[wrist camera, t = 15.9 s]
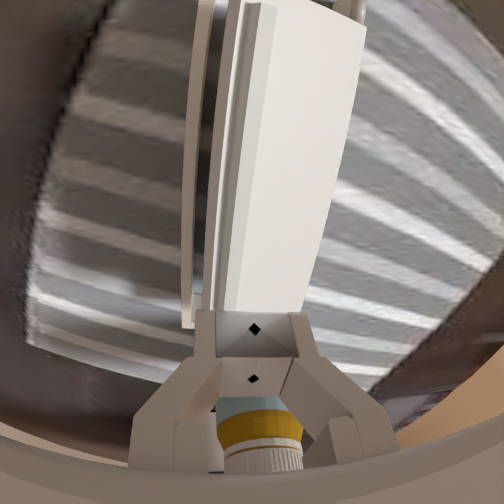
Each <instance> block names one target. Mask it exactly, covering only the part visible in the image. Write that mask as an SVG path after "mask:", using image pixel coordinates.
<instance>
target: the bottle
mask: <svg viewBox="0 0 504 504" xmlns="http://www.w3.org/2000/svg"><path fill="white" fill-rule="evenodd" d="M216 431H217V438H218V440H219V442H220V444H221V447H222V449H223V451H224V454H223V456H224V474H240V473H264V472H278V471H289V470H299V469H303V463H302V457H303V454H302V453H303V452H302V447H301V444H300V442H301V437H302V432H303V426H302V425H301V424H300V423H299V422H298V420H297V419H296V418H295V417H294V416H293V414H292V413H291V412H290V411H289V410H288V408H287V407H286V406H285V405H284V403H283V402H282V401H281V400H280V399H279V397H219V399H218V401H217V402H216Z"/></svg>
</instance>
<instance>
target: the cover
mask: <svg viewBox="0 0 504 504" xmlns="http://www.w3.org/2000/svg"><path fill="white" fill-rule="evenodd" d="M366 30H367V27H365V26H363V25H361V24H359V23H358V22H356V21H354V20H352V19H350V18H348V17H346V16H344V15H341V14H339V13H337V12H335V11H333V10H331V9H329V8H326V7H324V6H322V5H320V4H317V3H315V2H313V1H310V0H229V4H228V11H227V18H226V25H225V32H224V40H223V47H222V55H221V63H220V72H219V80H218V89H217V98H216V108H215V118H214V128H213V139H212V150H211V161H210V173H209V186H208V200H207V215H206V231H205V248H204V268H203V291H202V309H204V310H224V311H241V312H286V313H287V312H300V310H301V307H302V304H303V301H304V297H305V294H306V291H307V287H308V284H309V280H310V277H311V273H312V270H313V266H314V263H315V259H316V256H317V252H318V249H319V245H320V241H321V238H322V234H323V230H324V226H325V223H326V219H327V215H328V211H329V207H330V203H331V199H332V195H333V191H334V187H335V183H336V179H337V175H338V171H339V166H340V162H341V158H342V153H343V149H344V145H345V140H346V136H347V131H348V126H349V122H350V117H351V112H352V107H353V102H354V97H355V92H356V87H357V82H358V76H359V71H360V65H361V60H362V54H363V48H364V42H365V36H366Z"/></svg>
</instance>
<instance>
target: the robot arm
mask: <svg viewBox="0 0 504 504" xmlns="http://www.w3.org/2000/svg"><path fill="white" fill-rule="evenodd" d="M219 397H279V399H280V400H281V401H282V402H283V403H284V405H285V406H286V407H287V408H288V410H289V411H290V412H291V413H292V414H293V416H294V417H295V418H296V419H297V420H298V422H299V423H300V424H301V425H302V426H303V427H304V429H305V430H306V431H307V432H308V433H309V435H310V436H311V437H312V438H313V439H314V440H315V441H314V443H313V444H312V445H311V447H310V448H309V449H308V450H307V452H306V453H305V454H304V455H303V457H302V463H303V469H299V470H289V471H278V472H264V473H240V474H224V456H223V454H224V451H223V449H222V447H221V444H220V442H219V440H218V438H217V431H216V412H210V411H211V410H212V408H213V407H214V405H215V404H216V402H217V401H218V399H219ZM0 504H504V413H501V414H499V415H497V416H495V417H493V418H491V419H488V420H486V421H484V422H482V423H479V424H477V425H474V426H472V427H469V428H467V429H464V430H461V431H459V432H456V433H453V434H451V435H448V436H445V437H442V438H439V439H436V440H433V441H430V442H427V443H424V444H421V445H417V446H414V447H410V448H407V449H403V450H400V449H399V446H398V444H397V441H396V438H395V435H394V432H393V429H392V426H391V423H390V420H389V418H388V415H387V412H386V409H385V408H384V407H383V406H381V405H380V404H379V403H378V402H377V401H375V400H374V399H373V398H372V397H371V396H369V395H368V394H367V393H366V392H365V391H364V390H362V389H361V388H360V387H359V386H358V385H357V384H355V383H354V382H353V381H352V380H351V379H350V378H348V377H347V376H346V375H345V374H344V373H343V372H341V371H340V370H339V369H338V368H337V367H336V366H334V365H333V364H332V363H331V362H330V361H329V360H328V359H326V358H325V357H319V353H318V350H317V347H316V343H315V340H314V337H313V333H312V330H311V327H310V323H309V320H308V317H307V314H306V313H305V312H287V313H286V312H241V311H224V310H204V309H196V313H195V329H194V350H193V357H187V358H186V359H185V360H184V361H183V362H182V363H181V364H180V366H179V367H178V368H177V369H176V370H175V371H174V372H173V373H172V374H171V376H170V377H169V378H168V379H167V380H166V381H165V382H164V383H163V384H162V386H161V387H160V388H159V389H158V390H157V391H156V392H155V393H154V394H153V395H152V397H151V398H150V399H149V400H148V401H147V402H146V403H145V404H144V405H143V406H142V408H141V409H140V410H139V411H138V412H137V413H136V414H135V415H134V417H133V424H132V432H131V440H130V449H129V458H128V467H123V466H117V465H110V464H105V463H99V462H94V461H89V460H84V459H79V458H75V457H71V456H66V455H63V454H59V453H55V452H51V451H47V450H44V449H40V448H37V447H34V446H31V445H27V444H24V443H21V442H18V441H15V440H12V439H9V438H7V437H4V436H1V435H0Z"/></svg>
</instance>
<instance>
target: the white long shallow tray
mask: <svg viewBox="0 0 504 504" xmlns="http://www.w3.org/2000/svg"><path fill="white" fill-rule="evenodd" d="M366 5H367V0H338V1H335V2H333V6H332V10H333V11H335V12H337V13H339V14H341V15H344V16H346V17H348V18H350V19H352V20H354V21H356V22H358V23H359V24H361V25H364V18H365V12H366ZM214 7H215V0H199V3H198V10H197V17H196V25H195V33H194V41H193V49H192V58H191V68H190V78H189V88H188V100H187V112H186V126H185V141H184V159H183V181H182V212H181V309H182V328H188V329H195V313H196V309H202V295H201V294H193V260H194V231H195V208H196V189H197V173H198V158H199V144H200V131H201V120H202V108H203V98H204V88H205V78H206V69H207V60H208V52H209V44H210V36H211V28H212V21H213V14H214Z"/></svg>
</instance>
